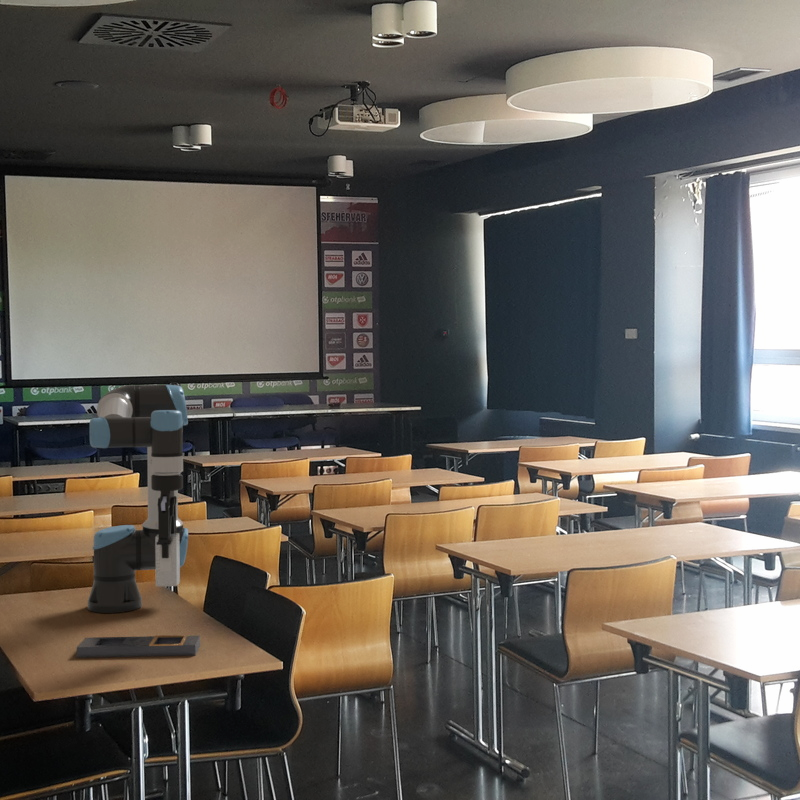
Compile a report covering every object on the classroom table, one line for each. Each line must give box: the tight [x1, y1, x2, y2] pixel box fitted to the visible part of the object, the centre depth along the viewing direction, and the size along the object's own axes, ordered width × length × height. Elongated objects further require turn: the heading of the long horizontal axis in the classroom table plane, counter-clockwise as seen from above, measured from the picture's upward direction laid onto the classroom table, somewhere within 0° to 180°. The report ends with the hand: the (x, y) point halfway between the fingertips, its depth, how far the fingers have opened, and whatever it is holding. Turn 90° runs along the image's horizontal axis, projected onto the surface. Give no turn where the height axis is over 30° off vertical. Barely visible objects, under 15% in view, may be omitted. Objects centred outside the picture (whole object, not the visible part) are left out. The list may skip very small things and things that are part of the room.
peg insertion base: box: [76, 634, 201, 659], centre depth 252 cm, size 9×28×3 cm, turn 94°
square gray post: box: [155, 533, 181, 587], centre depth 252 cm, size 5×5×12 cm
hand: (167, 568), depth 252 cm, fingers closed on square gray post, 5 cm apart
